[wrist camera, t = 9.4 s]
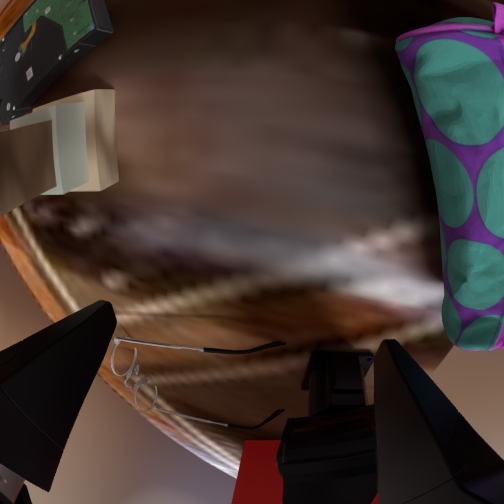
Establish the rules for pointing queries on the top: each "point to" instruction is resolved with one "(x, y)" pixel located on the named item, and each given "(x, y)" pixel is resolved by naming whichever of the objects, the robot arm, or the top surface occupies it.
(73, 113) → the tower top
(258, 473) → the book
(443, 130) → the pencil case
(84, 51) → the disk drive
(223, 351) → the eyeglasses
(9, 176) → the walnut block
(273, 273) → the top surface
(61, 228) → the top surface
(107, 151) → the tower base
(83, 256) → the top surface
